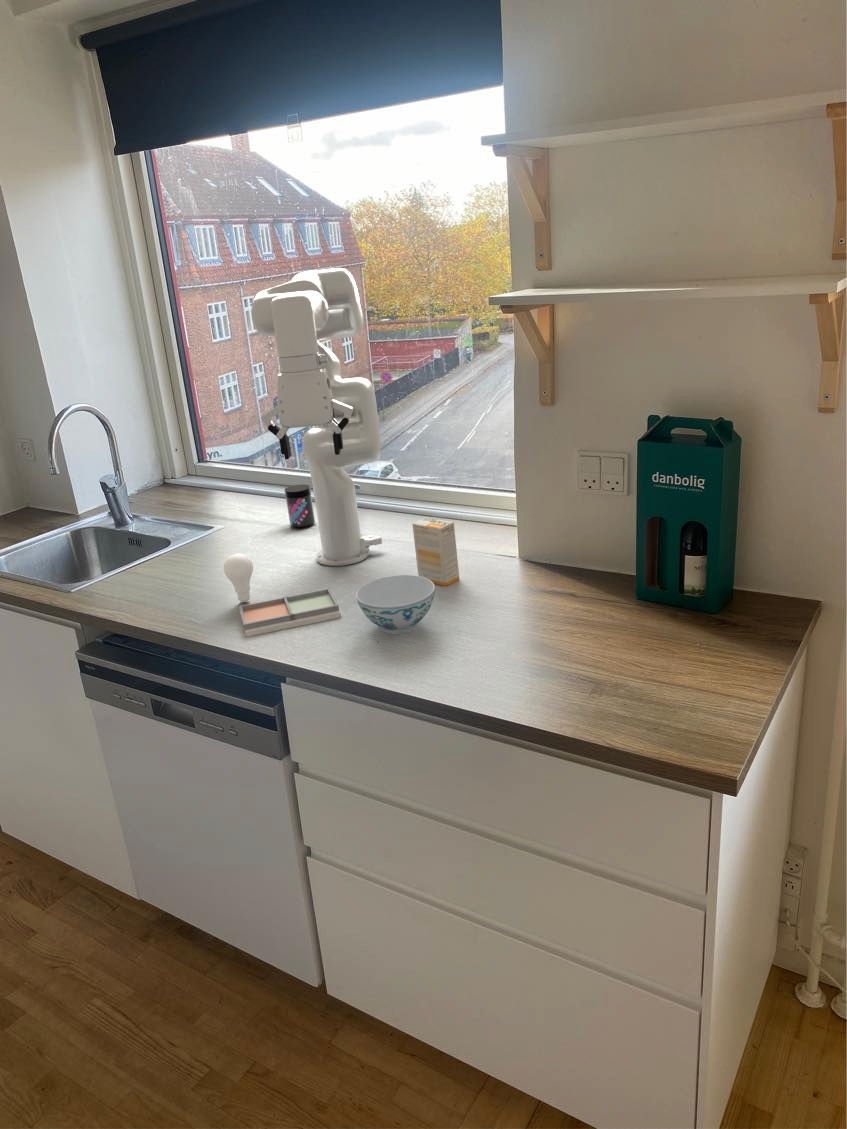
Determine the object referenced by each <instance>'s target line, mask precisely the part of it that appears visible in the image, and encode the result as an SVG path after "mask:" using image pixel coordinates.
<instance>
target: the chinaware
mask: <svg viewBox="0 0 847 1129" xmlns="http://www.w3.org/2000/svg"><path fill="white" fill-rule="evenodd" d="M435 589H436V587H435V583H433V582H432V581H430V580H429V579H427V578H424V577H420V576H418V575H413V574H399V575H398V574H395V575H390V576H389V575H388V576H384V577H379V578H376V579H373V580H371V581H368V582H366V583H364V584H363V585H362V586H361V585H360V587H358V589H357V590H356V592H355V598H356V600H357V604H358V606H359V608H360V610H361V612H362V613H363V614H364V616H365V617H366V619H368V620H369V621H370V622H371V623H372V624H374V625H375V626H377V627H379V628H381V630H382V631H383V632H384V633H387V634H388V635H390V634H391V635H403V634H407V633H409V632H412V631H414V630H415V629H416V628H417V625H418V623H420V621H422V620H423V619H424V618H425V616H427V613H428V612H429V611H430V609H431V607H432V603H433V601H434V596H435Z"/></svg>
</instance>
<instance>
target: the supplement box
mask: <svg viewBox="0 0 847 1129" xmlns="http://www.w3.org/2000/svg"><path fill="white" fill-rule="evenodd" d="M412 531H413V532H412V533H413V539H414V541H413V542H414V549H415V550H414V551H415V558H416V565H417V568H416V569H417V574H418V575H417V576H420V577H424V578H427V579H429V580H430V581H432V582H433V584H437V585H440V586H444V587H447V586H449V585H451V584H453V583H456V582H457V581H459V580H460V571H459V562H458V560H459V559H458V550H457V540H456V539H457V538H456V530H455V522H454V521H449V520H443V519H438V518H433V517H432V518H431V517H427V516H426V517H424V518H422V519H419V520H417V521H415V522H412Z"/></svg>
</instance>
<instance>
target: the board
mask: <svg viewBox="0 0 847 1129" xmlns="http://www.w3.org/2000/svg"><path fill="white" fill-rule="evenodd" d="M238 608H239V614H240V618H241V621H242V622H241V623H242V625H243V630H244V634H245V637H252V636H257V635H261V634H267V633H272V632H276V631H282V630H286V629H290V628H296V627H299V626H304V625H309V624H315V623H319V622H324V621H329V620H333V619H339V618H342V615H341V611H340V606H339V603H338V601H337V599H336V597H335V596H334V594H333V592H332V590H331V589H330V587H328V588H323V589H318V590H313V591H309V592H304V593H303V592H302V593H298V594H294V595H287V596H283V597H279V598H273V599H268V600H263V601H258V602H253V603H248V604H244V605H243V604H242V605H239V606H238ZM281 629H282V630H281Z"/></svg>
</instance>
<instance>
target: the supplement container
mask: <svg viewBox="0 0 847 1129" xmlns="http://www.w3.org/2000/svg"><path fill="white" fill-rule="evenodd" d="M284 496H285V499H286V500H285V501H286V507H287V512H288V520H289V525H290V528H292V529H295V530H301V529H302V530H303V529H304V528H305V529H308V528H311V527H313V526H314V525H315V524H316V523H315V522H316V520H315V512H314V506H313V500H312V491H311V485H308V484H295V485H290V486H287V487H285V488H284Z"/></svg>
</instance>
